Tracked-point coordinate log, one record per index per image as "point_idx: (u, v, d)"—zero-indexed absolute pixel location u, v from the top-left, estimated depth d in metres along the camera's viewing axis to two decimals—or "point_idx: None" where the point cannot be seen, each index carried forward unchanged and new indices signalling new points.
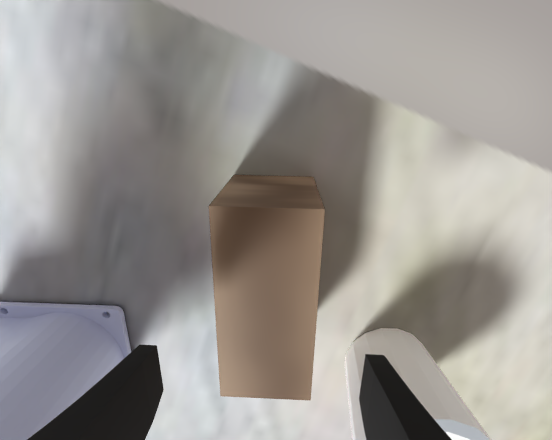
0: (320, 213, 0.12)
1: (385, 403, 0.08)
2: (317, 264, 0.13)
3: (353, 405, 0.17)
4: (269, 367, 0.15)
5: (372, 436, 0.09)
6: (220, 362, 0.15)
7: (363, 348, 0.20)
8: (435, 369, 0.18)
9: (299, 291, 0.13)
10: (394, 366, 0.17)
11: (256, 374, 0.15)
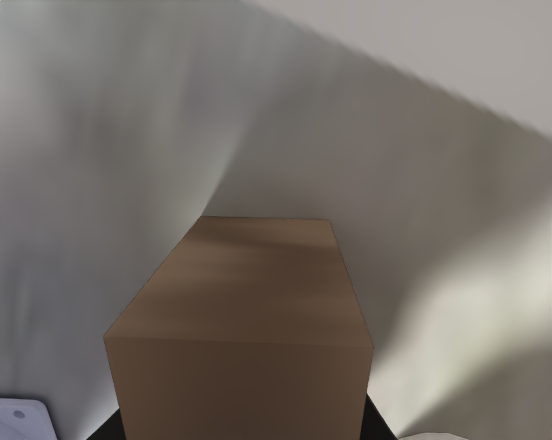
0: (362, 355, 0.05)
1: None
2: None
3: None
4: None
5: None
6: None
7: None
8: None
9: None
10: None
11: None
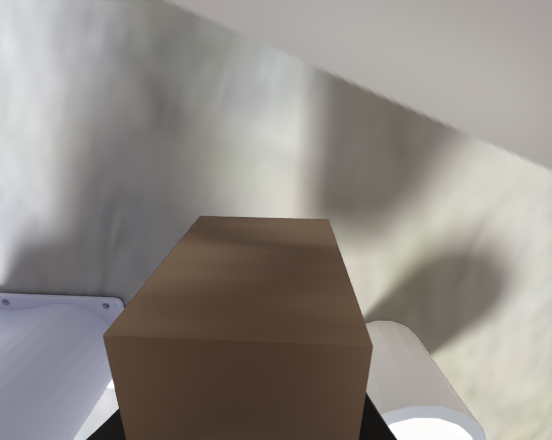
0: (362, 354, 0.05)
1: None
2: None
3: None
4: None
5: None
6: None
7: None
8: (428, 359, 0.18)
9: None
10: (388, 356, 0.18)
11: None
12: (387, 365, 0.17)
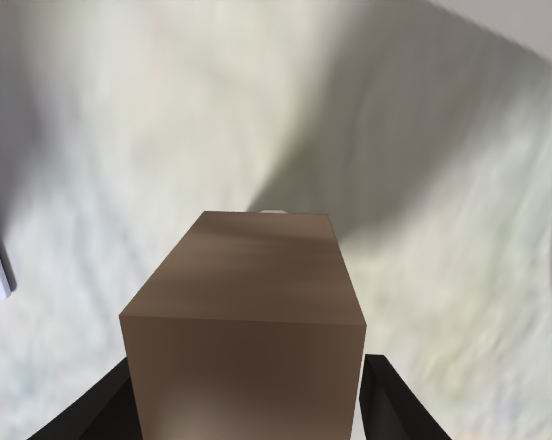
0: (357, 333, 0.06)
1: (385, 403, 0.08)
2: (346, 419, 0.06)
3: None
4: None
5: (372, 436, 0.09)
6: None
7: None
8: None
9: None
10: None
11: None
12: None
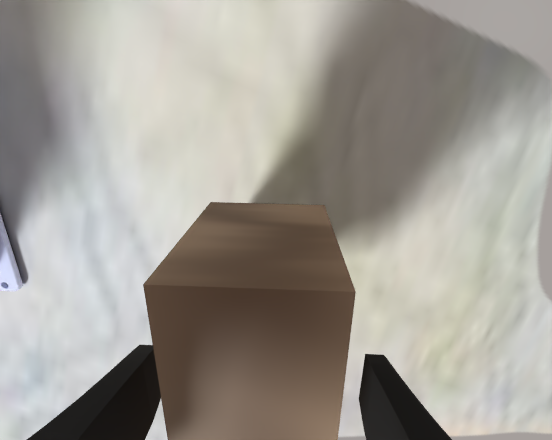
0: (347, 298, 0.06)
1: (385, 403, 0.08)
2: (339, 378, 0.07)
3: None
4: None
5: (372, 436, 0.09)
6: None
7: None
8: None
9: (308, 416, 0.08)
10: None
11: None
12: None
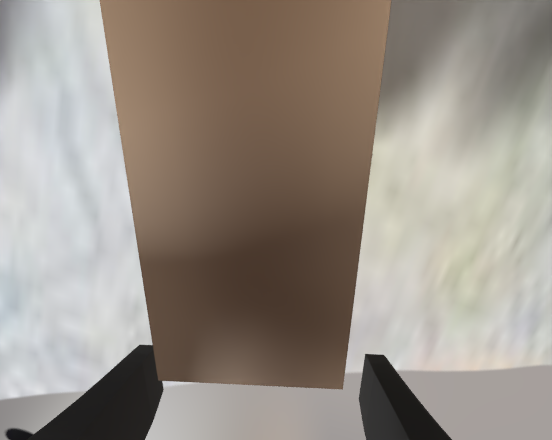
0: None
1: (385, 403, 0.08)
2: (379, 23, 0.05)
3: None
4: (256, 317, 0.07)
5: (372, 436, 0.09)
6: (151, 306, 0.07)
7: None
8: None
9: (330, 111, 0.05)
10: None
11: (229, 333, 0.07)
12: None
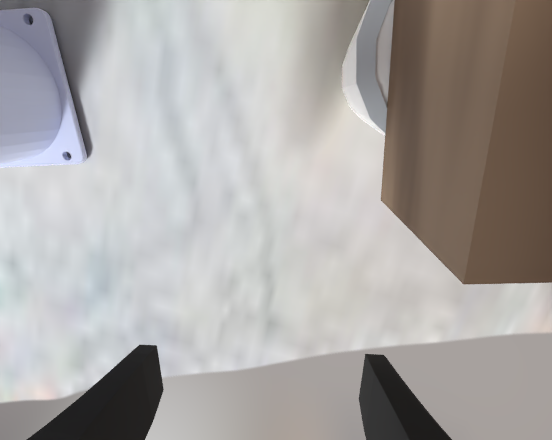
0: None
1: (385, 403, 0.08)
2: None
3: (350, 47, 0.13)
4: None
5: (372, 436, 0.09)
6: (488, 179, 0.05)
7: None
8: None
9: None
10: None
11: None
12: None
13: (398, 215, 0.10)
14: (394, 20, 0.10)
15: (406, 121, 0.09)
